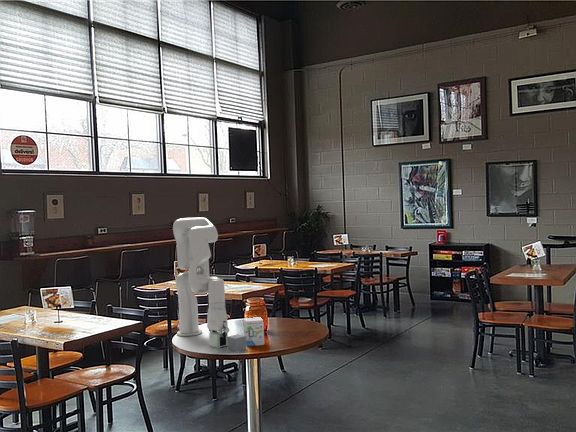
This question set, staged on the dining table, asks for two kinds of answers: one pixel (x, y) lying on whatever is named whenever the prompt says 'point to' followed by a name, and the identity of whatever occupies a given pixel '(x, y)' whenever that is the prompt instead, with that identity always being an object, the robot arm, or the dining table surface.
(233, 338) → the slate block
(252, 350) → the dining table surface
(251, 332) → the ink box
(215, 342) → the sage block
